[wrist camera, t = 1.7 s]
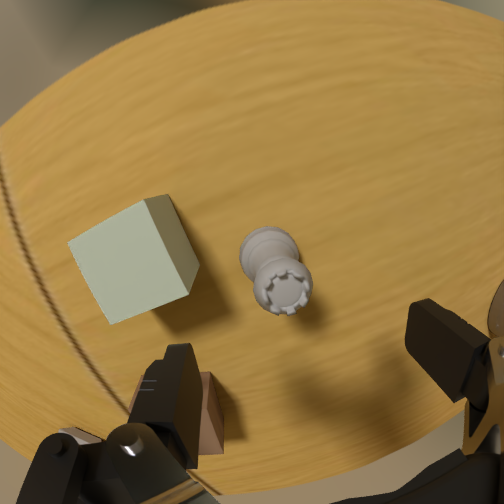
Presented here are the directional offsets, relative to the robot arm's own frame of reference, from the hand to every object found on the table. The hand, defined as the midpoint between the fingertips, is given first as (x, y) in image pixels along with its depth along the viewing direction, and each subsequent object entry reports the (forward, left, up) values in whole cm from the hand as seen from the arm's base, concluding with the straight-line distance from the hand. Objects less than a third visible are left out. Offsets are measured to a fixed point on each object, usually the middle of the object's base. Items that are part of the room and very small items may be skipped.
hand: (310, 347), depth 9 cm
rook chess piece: (0, 0, -13) cm, 13 cm away
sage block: (+9, -2, -13) cm, 16 cm away
